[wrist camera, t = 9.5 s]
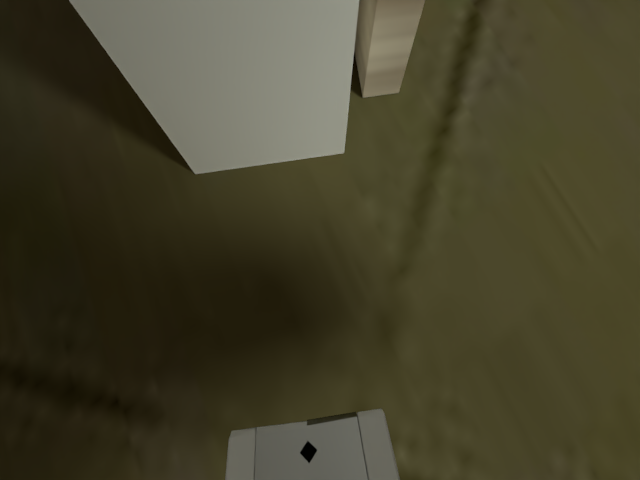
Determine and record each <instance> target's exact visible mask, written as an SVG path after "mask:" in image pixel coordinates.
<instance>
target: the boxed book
mask: <svg viewBox="0 0 640 480" xmlns="http://www.w3.org/2000/svg"><path fill="white" fill-rule="evenodd" d="M69 1H70V3H71V4H72V5H73V7H74V8H75V9H76V11H77V12H78V14H79V15H80V16H81V18H82V19H83V20H84V22H85V23H86V25H87V26H88V27H89V29H90V30H91V31H92V33H93V34H94V36H95V37H96V38H97V40H98V41H99V42H100V44H101V45H102V47H103V48H104V49H105V51H106V52H107V53H108V55H109V56H110V58H111V59H112V60H113V62H114V63H115V64H116V66H117V67H118V69H119V70H120V71H121V73H122V74H123V75H124V77H125V78H126V80H127V81H128V82H129V84H130V85H131V87H132V88H133V89H134V91H135V92H136V93H137V95H138V96H139V98H140V99H141V100H142V102H143V103H144V104H145V106H146V107H147V109H148V110H149V111H150V113H151V114H152V115H153V117H154V118H155V120H156V121H157V122H158V124H159V125H160V126H161V128H162V129H163V131H164V132H165V133H166V135H167V136H168V137H169V139H170V140H171V142H172V143H173V144H174V146H175V147H176V148H177V150H178V151H179V153H180V154H181V155H182V157H183V158H184V159H185V161H186V162H187V164H188V165H189V166H190V168H191V169H192V170H193V172H194V173H195V174H200V173H207V172H215V171H222V170H229V169H236V168H243V167H250V166H257V165H264V164H271V163H278V162H285V161H292V160H299V159H306V158H313V157H320V156H327V155H334V154H341V153H344V149H345V139H346V129H347V119H348V109H349V99H350V89H351V78H352V68H353V58H354V48H355V38H356V28H357V18H358V8H359V0H69Z"/></svg>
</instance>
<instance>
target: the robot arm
mask: <svg viewBox="0 0 640 480" xmlns="http://www.w3.org/2000/svg"><path fill="white" fill-rule="evenodd" d="M225 480H400V478H399V474H398V469H397V465H396V461H395V456H394V452H393V448H392V444H391V439H390V435H389V431H388V426H387V422H386V418H385V414H384V412H383V410H382V408H381V409H375V410H369V411H363V412H357V414H356V412H352V413H346V414H340V415H334V416H328V417H322V418H316V419H310V420H307V421H302V422H295V423H287V424H279V425H272V426H264V427H255V428H248V429H242V430H235V431H231V435H230V438H229V443H228V454H227V466H226V477H225Z"/></svg>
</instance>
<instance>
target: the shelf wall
mask: <svg viewBox="0 0 640 480" xmlns="http://www.w3.org/2000/svg"><path fill="white" fill-rule="evenodd" d="M424 2H425V0H359V8H358V18H357V28H356V38H355V48H354V52H355V58H356V63H357V69H358V74H359V80H360V85H361V91H362V97H363V98H364V97H371V96H379V95H386V94H393V93H399V90H400V86H401V83H402V79H403V76H404V72H405V69H406V65H407V62H408V58H409V55H410V51H411V48H412V44H413V41H414V37H415V34H416V30H417V27H418V23H419V20H420V16H421V13H422V9H423V6H424Z"/></svg>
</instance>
